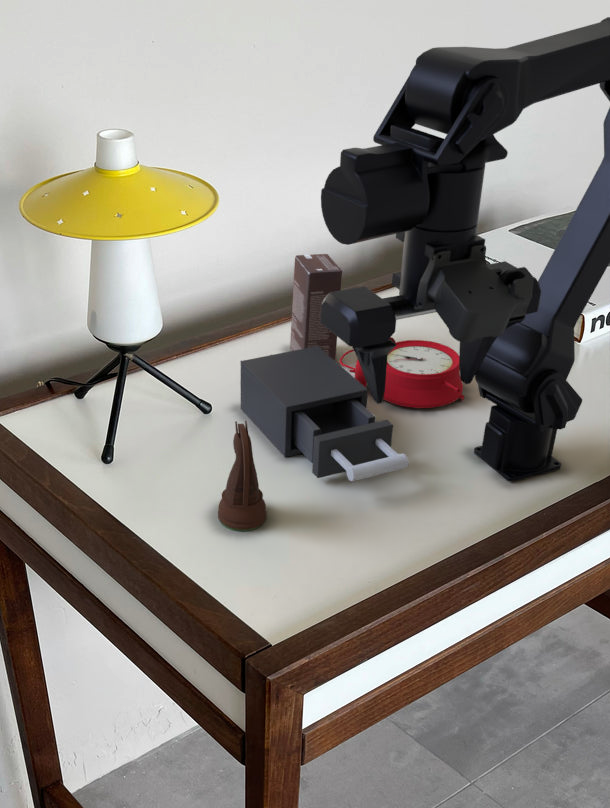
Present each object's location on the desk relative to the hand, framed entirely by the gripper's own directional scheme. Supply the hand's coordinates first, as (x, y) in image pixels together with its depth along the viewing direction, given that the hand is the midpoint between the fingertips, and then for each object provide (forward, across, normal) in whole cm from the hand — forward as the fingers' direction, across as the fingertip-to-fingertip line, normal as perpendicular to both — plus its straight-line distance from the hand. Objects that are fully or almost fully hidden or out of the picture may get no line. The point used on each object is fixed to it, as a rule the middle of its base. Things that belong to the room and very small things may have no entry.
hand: (422, 391), depth 91 cm
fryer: (+12, -3, +18) cm, 22 cm away
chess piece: (+12, -16, +4) cm, 20 cm away
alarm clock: (+12, +12, +21) cm, 27 cm away
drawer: (+11, -3, +9) cm, 15 cm away
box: (+12, +6, +32) cm, 35 cm away
